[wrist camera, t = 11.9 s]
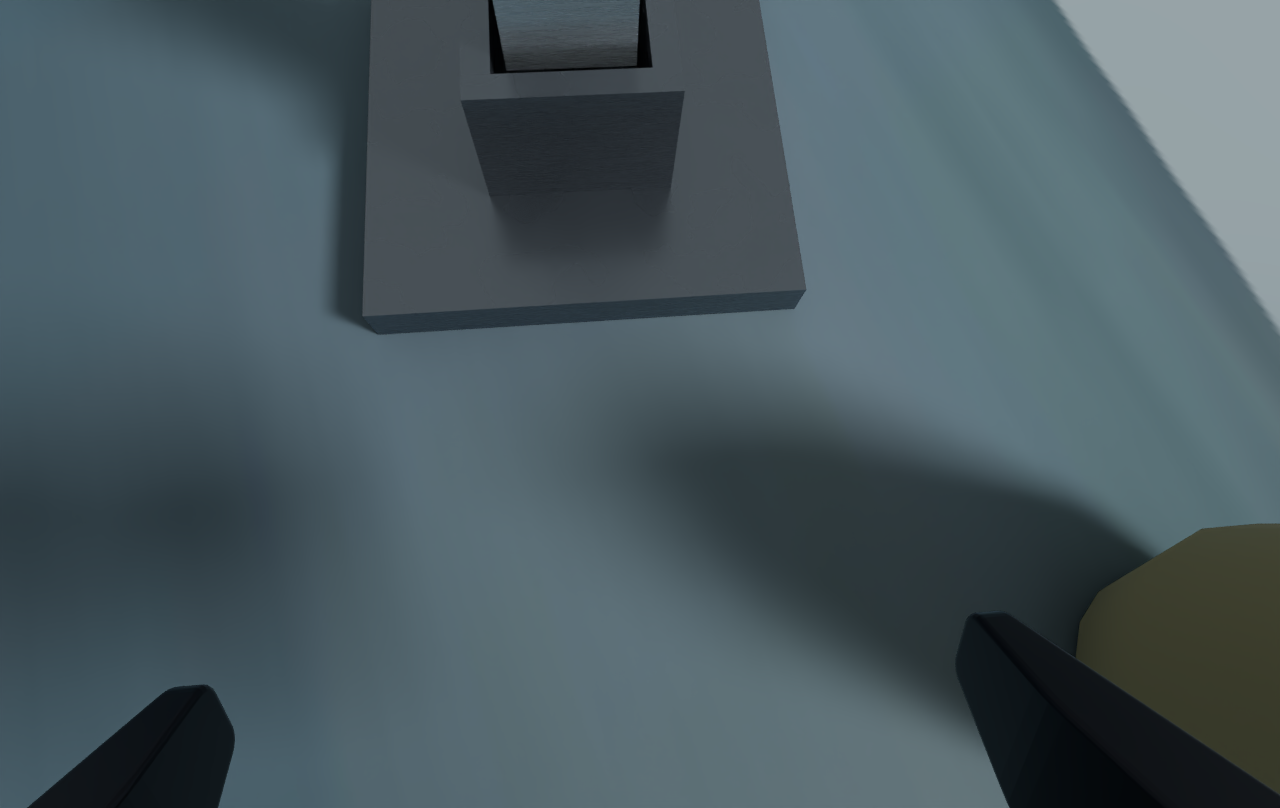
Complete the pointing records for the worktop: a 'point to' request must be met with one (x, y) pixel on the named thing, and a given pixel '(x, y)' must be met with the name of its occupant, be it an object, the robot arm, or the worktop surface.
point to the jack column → (567, 33)
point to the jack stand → (573, 174)
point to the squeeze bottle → (1200, 641)
